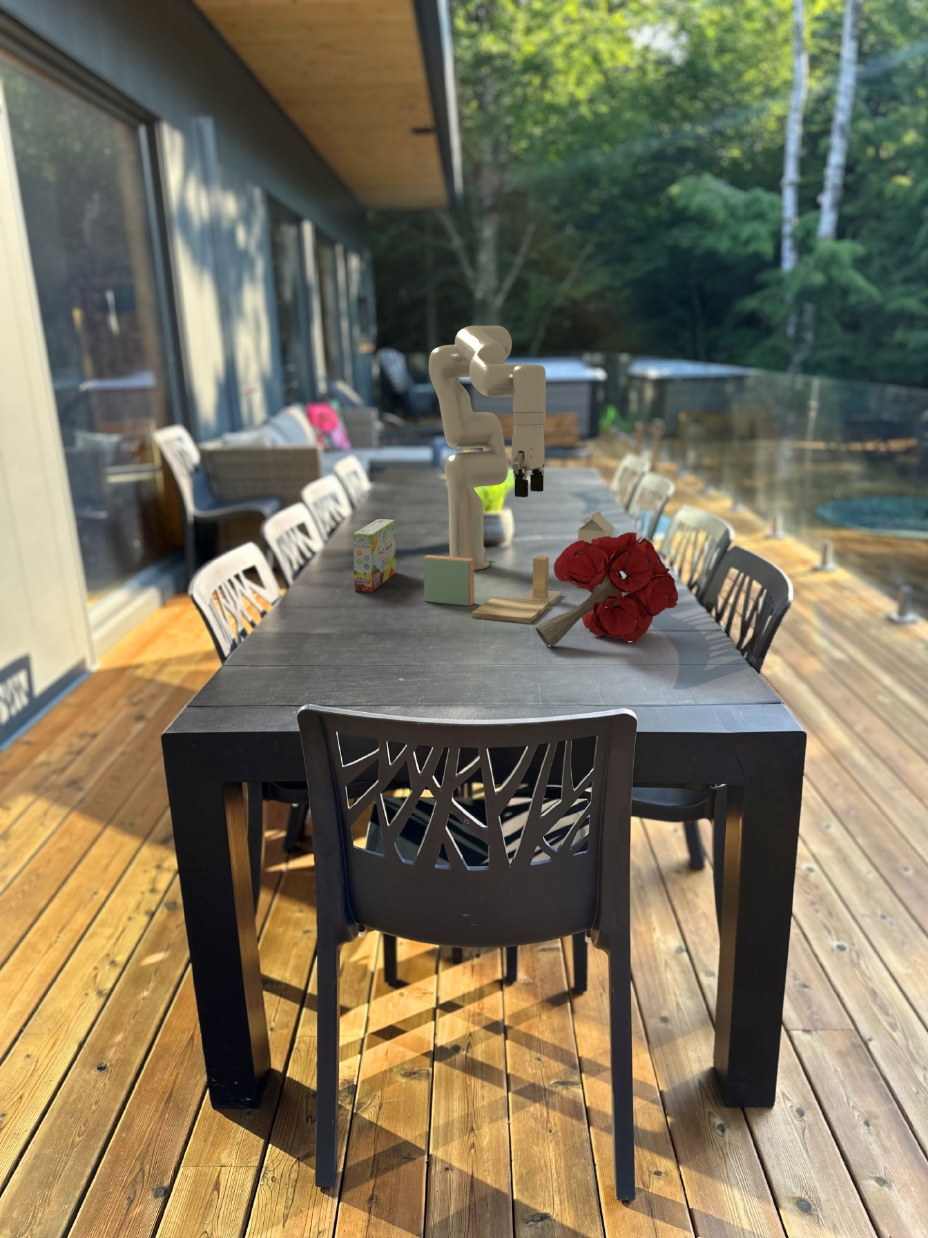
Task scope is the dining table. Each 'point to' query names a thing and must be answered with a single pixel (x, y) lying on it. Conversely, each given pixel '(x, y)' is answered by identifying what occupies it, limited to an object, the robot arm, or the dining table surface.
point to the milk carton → (595, 528)
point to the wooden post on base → (541, 583)
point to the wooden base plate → (510, 610)
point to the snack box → (374, 554)
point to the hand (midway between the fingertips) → (529, 493)
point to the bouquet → (612, 588)
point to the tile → (449, 580)
